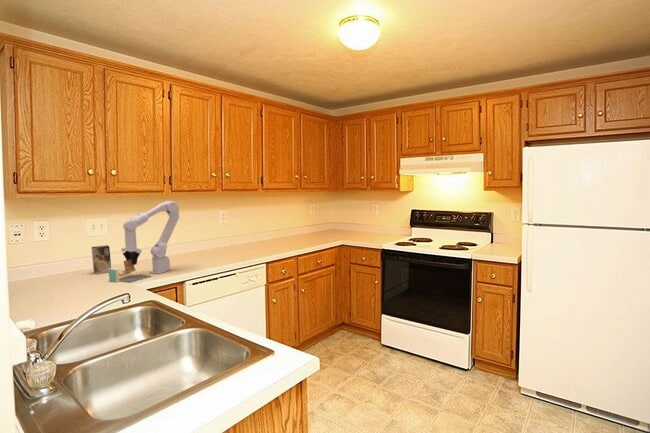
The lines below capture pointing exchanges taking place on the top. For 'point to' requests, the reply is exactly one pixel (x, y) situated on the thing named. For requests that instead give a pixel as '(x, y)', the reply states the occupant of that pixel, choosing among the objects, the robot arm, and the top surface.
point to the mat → (134, 278)
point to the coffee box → (101, 259)
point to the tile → (114, 275)
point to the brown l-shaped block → (127, 268)
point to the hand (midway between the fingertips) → (132, 264)
